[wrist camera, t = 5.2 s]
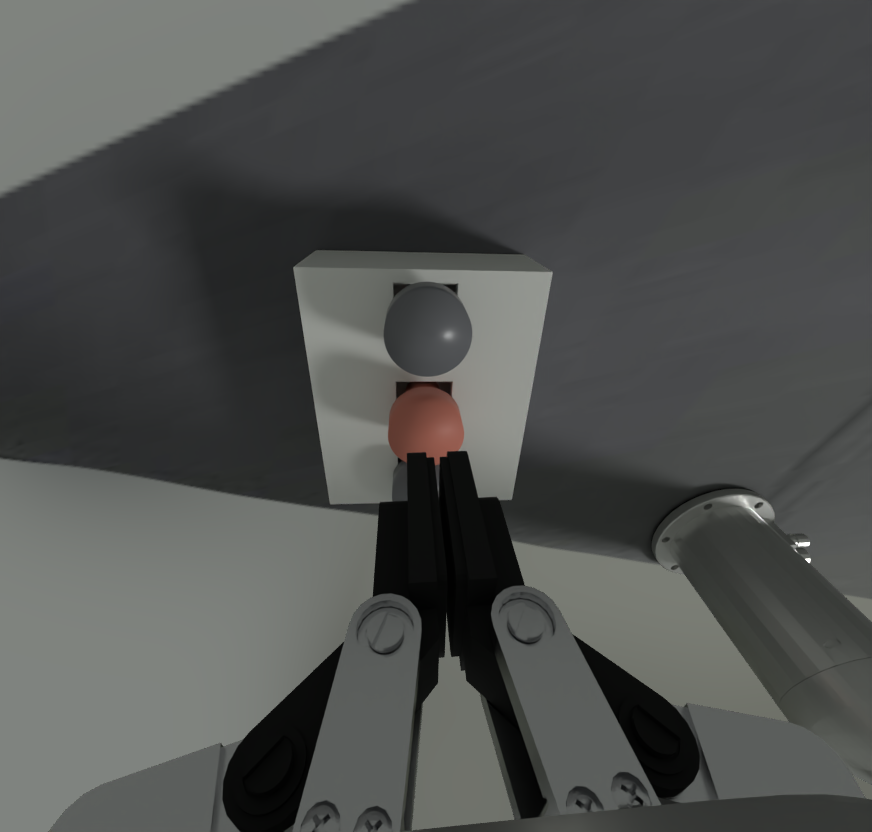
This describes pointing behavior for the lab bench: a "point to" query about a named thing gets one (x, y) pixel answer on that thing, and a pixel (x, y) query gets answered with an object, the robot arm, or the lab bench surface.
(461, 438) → the red knob
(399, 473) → the grey knob
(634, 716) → the robot arm
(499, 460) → the control box
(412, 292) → the grey knob
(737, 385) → the lab bench surface
